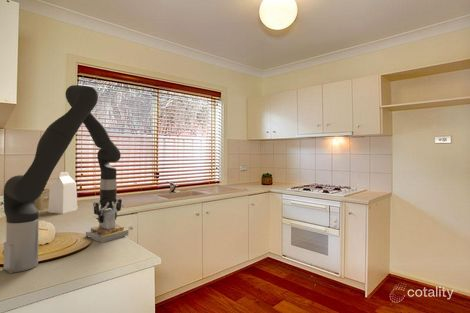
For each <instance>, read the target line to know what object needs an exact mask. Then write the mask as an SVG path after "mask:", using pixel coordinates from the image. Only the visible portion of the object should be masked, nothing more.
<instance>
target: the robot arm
mask: <svg viewBox="0 0 470 313" xmlns="http://www.w3.org/2000/svg"><path fill="white" fill-rule="evenodd" d="M65 98H66V99H65V100H66V101H67V103H68V104H69V105H70V106H69V107H70V109H69V110H68V111H67V112H66V113H64V114H63V115H62V116H60V117H58V118H57V119H56V120H55V121H53V122H52V123H50V125H48V127H47V128H46V129H45V131H44V132H43V133H42V135H41V136H40V138H39V141H38V142H37V146H36V150H35V154H34V158H33V161H32V163H31V164H30V166H29V167H28V169H27V171H26V172H25V173H24V174H21V175H14V176H12V177H10V178H9V179H8V180H7V181H6V182H5V184H4V186H3V212H4V214H5V218H6V219H5V223H6V227H5V228H6V230H5V233H6V234H5V235H6V236H5V242H3V269H4V270H5V271H6V272H7V273H9V274H13V273H17V272H18V273H19V272H20V273H21V272H24V271H27V270H31V269H33V268H36V267H37V266H38V265H39V236H40V235H39V232H40V231H39V230H40V228H39V225H40V220H39V219H40V218H39V217H40V214H39V212H40V211H39V210H38V208H37V207H36V205H35V201H36V200H37V199H39V198H40V197H41V196H42V194H43V192H44V190H45V188H46V185H47V184H48V181H49V180H50V177H51V175H52V174H53V171H54V169H55V167H56V166H57V165H58V163H59V162H60V159H62V157H63V155H64V153H65V152H66V150H67V149H68V147H69V145H70V144H71V142H72V140H73V139H74V137H75V136H76V134H77V132H78V130H79V129H80V128H81V125H84V127H85V129H87V131H88V133H89V135H90V137H91V139H92V140H93V143H94V145H95V146H96V148H98V149H99V150H98V151H97V154H96V156H97V158H96V159H97V161H98V165H99V169H100V183H99V198H100V199H99V201H97V202H96V201H94V202H93V203H92V205H93V214H94V215H96V216H98V217H97V222H98V223H103V213H104V211H105V210H106V209H111V210H114V211H115V221H117V216H118V215H117V214H118V212H120V211H121V210H122V203H123V202H122V201H123V200H122V199H121V198H117V193H118V192H117V190H118V189H117V188H118V187H117V184H118V183H117V168H116V167H114V166H111V165H110V163H117V162H119V161H120V159H121V151H120V149H119V147H118V146H117V145H116V144H115V143H114V141H112V140H111V138H110V136H109V134H108V133H109V132H108V131H107V129H106V128H105V126H104V124H103V123H101V121H100V120H99V119H98V118H97V117H96V116H95V115H94V113H92V111H93V109H94V108H95V107H96V105H97V104H98V100H99V94H98V91H97V89H95V88H94V87H92V86H88V85H81V84H80V85H78V84H77V85H76V84H73V85H70V86H68V87H67V88H66V90H65Z"/></svg>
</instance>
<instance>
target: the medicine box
mask: <svg viewBox="0 0 470 313" xmlns="http://www.w3.org/2000/svg"><path fill="white" fill-rule="evenodd" d="M98 223H99V222H98ZM115 224H116V220H115V211H114V210H112V209H111V208H108V209H106V210H105V211H104V213H103V223H99V224H98V226H100V227H102V228H104V229H112V228H115Z"/></svg>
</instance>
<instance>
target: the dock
mask: <svg viewBox="0 0 470 313" xmlns="http://www.w3.org/2000/svg"><path fill="white" fill-rule="evenodd" d="M129 231H130V230H129V229H126V228H124V230H122V231H119V232H115V233H111V234H107V235H104V236H102V235H101V233H99V234H97V233H96V231H95V232H91V229H90V230H86V231H85V237H86V236H90V237H91V238H92V239H91V238H90V239H91V240H94V241H97V242H100V243H105V242H110V241H113V240H116V239H120V238H123V237H126V236H129Z"/></svg>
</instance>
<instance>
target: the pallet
mask: <svg viewBox="0 0 470 313" xmlns="http://www.w3.org/2000/svg"><path fill="white" fill-rule="evenodd" d="M124 229H125V226H122V225H119V224H116V223H115V228H112V229H104V228H102V227H100V226H99V225H97V226H93V227H90V230H91V232H95V231H96V233H97V234H99V233H101V235H102V236H104V235H107V234H111V233H115V232H119V231H122V230H124Z"/></svg>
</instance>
